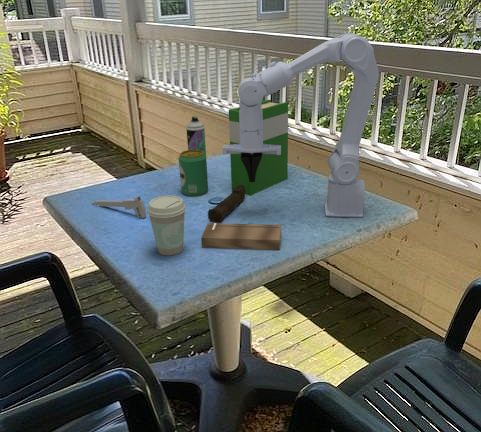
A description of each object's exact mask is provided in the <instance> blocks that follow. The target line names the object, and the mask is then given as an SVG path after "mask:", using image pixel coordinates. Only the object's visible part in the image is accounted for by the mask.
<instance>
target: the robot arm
mask: <svg viewBox="0 0 481 432" xmlns="http://www.w3.org/2000/svg"><path fill="white" fill-rule="evenodd" d="M374 51H375V50H374V47H373V46H372V45H371V43H370V42H369V41H368V40H367V38H365V37H364V36H362V35H357V34H356V33H353V32H345V33H343V34H341V35H339V36H336V37H332V38H330V39H328V40H326V41H324V42H322V43H320V44H319V45H317V46H316V47H314V48H313V49H311V50H309V51H308V52H306V53H304V54H302V55H299V57H296V58H295V59H294V60H291V61H290V62H288V63H287V62H284V61H278V62H276V61H273V62H270V63H269V67H267V68H265V69H263V70H261V71H260V72H253V73H252V74H251V76H252V77H246V78H244V79H242V81H240V83H239V85H238V87H237V88H238V89H237V93H238V98H239V105H238V107H240V110H239V125H240V144H234V145H230V144H224V145H222V155H225V156H226V155H230V154H241V161H242V163H243V164H244V166H245V168H246V171H247V173H248V177H249V182H255V180H256V172H257V168H258V166H259V163H260V161H261V159H262V155H263V154H276V155H281V145H269V144H263V111H262V109H261V101H263V99H264V97H269V96H270V95H272V94H275V93H277V92H279V90H282V89H284V88H286V87H288V86H289V85H291V84H292V82H293V80H294V79H293V78H294V77H295V76H296V75H299V74H302V73H304V72H306V71H307V70H310V69H311V68H314V67H315V66H317V65H320V64H322V63H325V62H330V63H331V62H332V63H340V62H341V61H342V62H343V63H345V64H346V65H347V66H348V68H349V70H350V71H351V73H352V74H353V75H354V78H355V79H354V83H353V87H352V91H351V94H350V97H349V101H348V105H347V109H346V113H345V117H344V120H343V125H342V128H341V133H340V137H339V139H338V141H337V142H336V144H335V145H334V149H333V151H332V152H331V153H330V155H329V156H328V159H327V165H328V168H329V169H330V170H331V172H330V173H329V175H328V177H327V195H326V196H327V197H326V203H324V211H325V217H332V218H333V217H335V218H336V217H338V218H340V217H341V218H345V217H346V218H363V217H364V206H365V196H366V194H365V192H366V189H365V187H366V185H365V179H360V178H358V177H359V175H360V166H359V161H360V144H361V141H362V138H363V133H364V130H365V127H366V122H367V119H368V115H369V111H370V108H371V105H372V101H373V98H374V95H375V90H376V87H377V83H378V81H379V80H378V79H379V74H380V71H379V68H378V64H377V60H376V57H375V54H374V53H375V52H374ZM252 154H253V155H252Z"/></svg>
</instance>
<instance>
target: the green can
mask: <svg viewBox="0 0 481 432" xmlns="http://www.w3.org/2000/svg"><path fill="white" fill-rule="evenodd" d="M206 161H207V155H206V156H205V154H204V152H203V151H201V150H188V149H187V150H184V151H181V152H180V153H179V157H178V169H179V177H180V179H179V181H180V190H181V192H182V193H183V194H184V196H187V197H200V196H203V195H205V194H206V193H207V192H208V189H209V181H208V179H209V178H208V166H207V165H208V162H207V163H206ZM207 178H208V179H207Z"/></svg>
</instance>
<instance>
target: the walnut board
mask: <svg viewBox="0 0 481 432" xmlns="http://www.w3.org/2000/svg"><path fill="white" fill-rule="evenodd" d="M200 238H201V248H206V249H207V248H209V249H211V248H213V249H237V250H239V249H240V250H241V249H242V250H264V251H265V250H266V251H267V250H269V251H272V250H273V251H280V249H281V239H282V224H261V223H260V224H258V223H256V224H255V223H230V222H229V223H227V222H226V223H224V222H219V223H216V222H207V223H206V225H205V228H204V230H203V233H202V235H201V237H200Z"/></svg>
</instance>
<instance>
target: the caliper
mask: <svg viewBox="0 0 481 432" xmlns="http://www.w3.org/2000/svg"><path fill="white" fill-rule="evenodd" d="M95 204H96V205H99V206H98V207H113V208H114V207H115V208H124V210H125V211H127V210H133V212H134V214H135V215H136V217H137V218H138V217H139V218H143V219H145V218H146V217H147V212H146V206H145V203H144V200H143V199H141V195H139V196H137V195H136V196H134V197H133V199H123V200H108V199H107V200H103V199H97V200H95V201H93V202H92V203H91V205H95ZM96 205H95V206H96ZM140 216H141V217H140Z"/></svg>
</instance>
